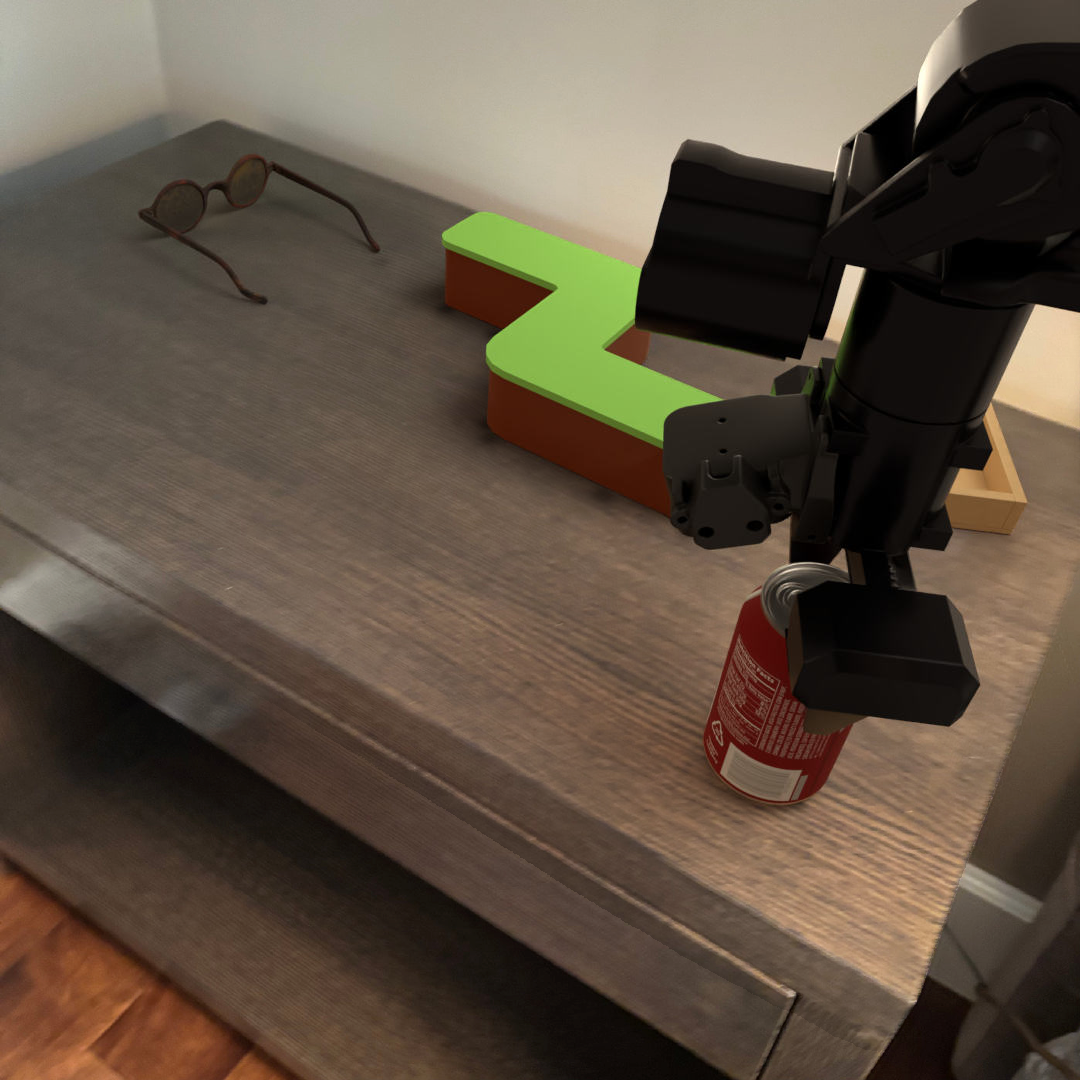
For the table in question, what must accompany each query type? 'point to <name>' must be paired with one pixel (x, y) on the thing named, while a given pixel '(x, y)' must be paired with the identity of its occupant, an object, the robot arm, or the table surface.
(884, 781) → the table surface
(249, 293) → the eyeglasses
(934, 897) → the table surface
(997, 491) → the tray
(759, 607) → the soda can
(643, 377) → the planter
